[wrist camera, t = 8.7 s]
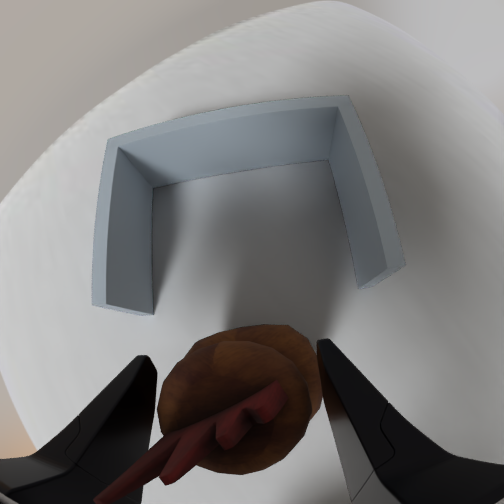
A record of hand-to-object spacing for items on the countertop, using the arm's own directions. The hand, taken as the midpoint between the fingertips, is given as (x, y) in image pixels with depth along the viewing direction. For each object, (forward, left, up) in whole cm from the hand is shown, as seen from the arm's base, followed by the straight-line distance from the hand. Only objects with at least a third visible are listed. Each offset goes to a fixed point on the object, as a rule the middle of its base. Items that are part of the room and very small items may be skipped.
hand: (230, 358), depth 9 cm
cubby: (+7, -4, -9) cm, 12 cm away
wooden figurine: (-1, +1, -9) cm, 9 cm away
